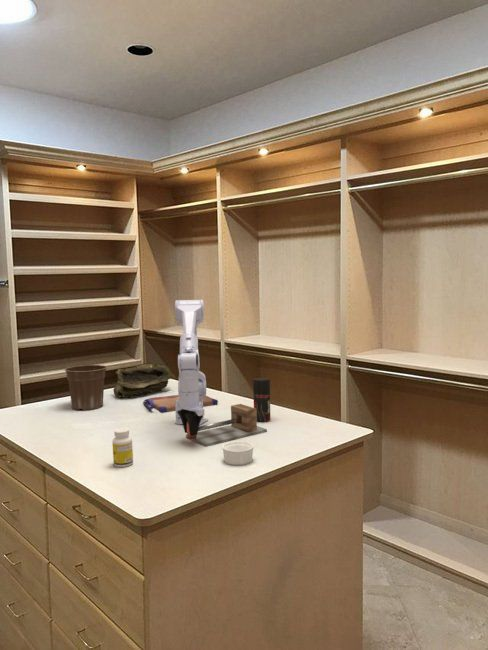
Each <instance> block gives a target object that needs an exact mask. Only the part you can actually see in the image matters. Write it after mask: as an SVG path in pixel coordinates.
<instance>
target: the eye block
mask: <svg viewBox="0 0 488 650" xmlns="http://www.w3.org/2000/svg"><path fill="white" fill-rule="evenodd" d="M230 416H231V417H230V420H231V419H235V420H236V423H233V424H228V425H224V426H219V427H215V428H210V429H206V430H201V431H198V433H197V438H196V439H189V440H191V442H192V441H193V442H194V443H196V444H199V445H201V446H203V447H209V446H210V447H211V446H214V445H218V444H222V443H223V444H224V443H228V442H232V441H236V440H238V439H242V438H247V437H251V436H256V435H260V434H263V433H268V429H267V428H264V427H261V426H258V422H257V409H256V408H254V407H251V406H249V405H246V404H242V403H237V404H233V405H230ZM185 438H186V439H187V434H186V435H185Z"/></svg>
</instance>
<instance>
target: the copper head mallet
mask: <svg viewBox="0 0 488 650" xmlns="http://www.w3.org/2000/svg"><path fill="white" fill-rule="evenodd" d="M233 423H236V420H235V419H231V418H230V419H227V420H223V421H218V422H213V423H208V424H204V425H201V426H200V425H199V428H198V432H202V431H207V430H211V429H216V428H220V427H225V426H229V425H231V424H233ZM186 435H187V438H186V439H187V440H190V439H196V438H197V435H193V436H191V435H190V432H189V425H188V421H187V433H186Z"/></svg>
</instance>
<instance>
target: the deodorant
mask: <svg viewBox="0 0 488 650" xmlns="http://www.w3.org/2000/svg"><path fill="white" fill-rule="evenodd" d="M252 381H253V382H252V384H253V390H252V391H253V394H252V395H253V408H256V409H257V423H268V422H270V421H271V419H272V418H271V380H270V377H254V378H253V379H252Z"/></svg>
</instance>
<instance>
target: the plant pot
mask: <svg viewBox="0 0 488 650" xmlns="http://www.w3.org/2000/svg"><path fill="white" fill-rule="evenodd" d="M107 369H108V367H107V366H106V365H102V364H101V365H100V364H86V365H85V364H84V365H73V366H68V367H66V368H64V371H65V373H66V379H67V381H68V389H69V395H70V403H71V408H72V409H73V410H76V411H80V410H82V411H88V410H89V411H91V410H96V409H100V408H102V407H103V406H104V391H105V377H106V371H107Z"/></svg>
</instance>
